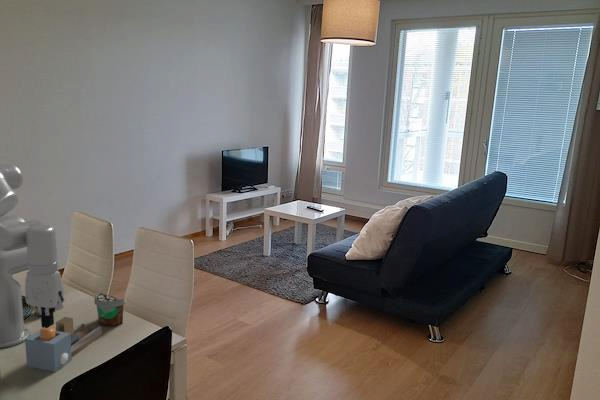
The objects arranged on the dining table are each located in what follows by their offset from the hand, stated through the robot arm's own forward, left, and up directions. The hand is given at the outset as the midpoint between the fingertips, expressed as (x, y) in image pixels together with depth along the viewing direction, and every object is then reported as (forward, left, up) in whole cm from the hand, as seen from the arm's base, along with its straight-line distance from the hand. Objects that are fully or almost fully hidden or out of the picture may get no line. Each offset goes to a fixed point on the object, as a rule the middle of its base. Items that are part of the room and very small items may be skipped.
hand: (48, 325), depth 144 cm
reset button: (0, 0, -6) cm, 6 cm away
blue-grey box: (0, 0, -13) cm, 13 cm away
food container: (0, +28, -13) cm, 31 cm away
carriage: (0, +7, -11) cm, 13 cm away
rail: (0, +12, -12) cm, 17 cm away
